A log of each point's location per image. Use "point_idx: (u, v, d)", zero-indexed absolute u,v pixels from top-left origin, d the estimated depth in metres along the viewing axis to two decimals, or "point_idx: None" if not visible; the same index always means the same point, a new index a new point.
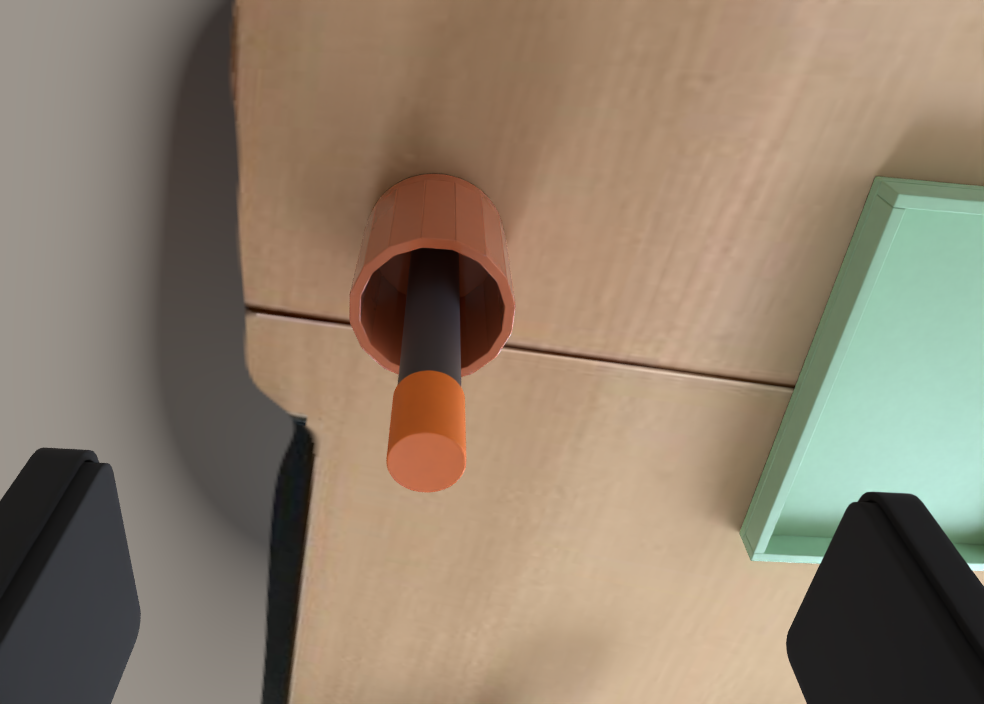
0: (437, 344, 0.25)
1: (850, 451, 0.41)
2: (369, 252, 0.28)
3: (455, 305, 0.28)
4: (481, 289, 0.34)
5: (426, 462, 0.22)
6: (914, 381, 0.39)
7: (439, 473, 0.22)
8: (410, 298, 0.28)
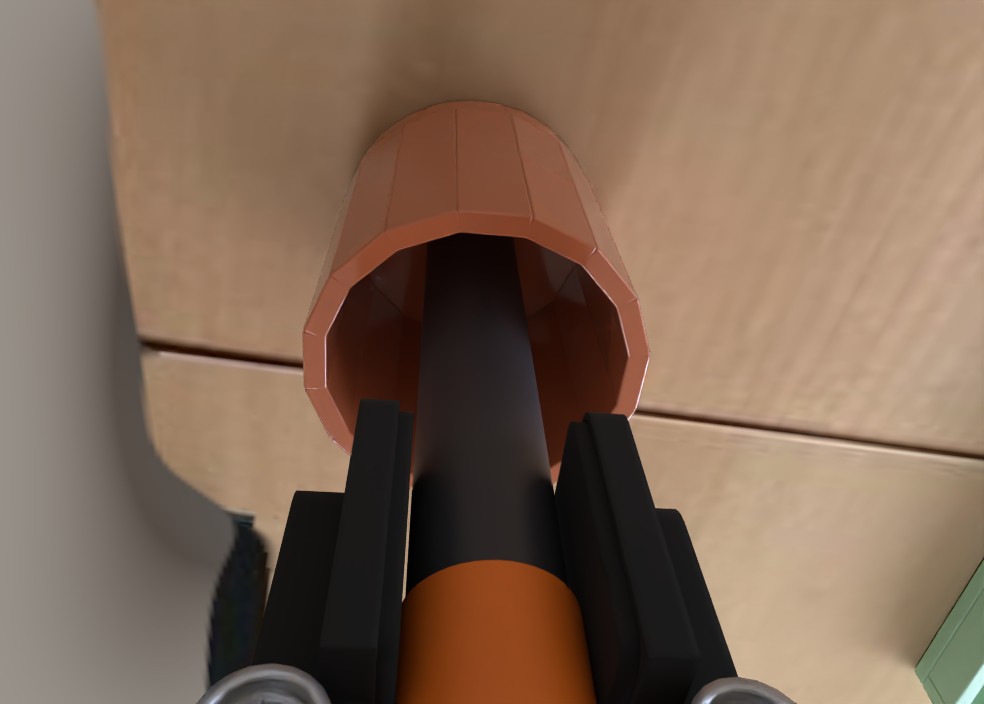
0: (504, 467, 0.10)
1: None
2: (344, 244, 0.13)
3: (527, 356, 0.13)
4: (552, 311, 0.19)
5: None
6: None
7: None
8: (431, 340, 0.13)
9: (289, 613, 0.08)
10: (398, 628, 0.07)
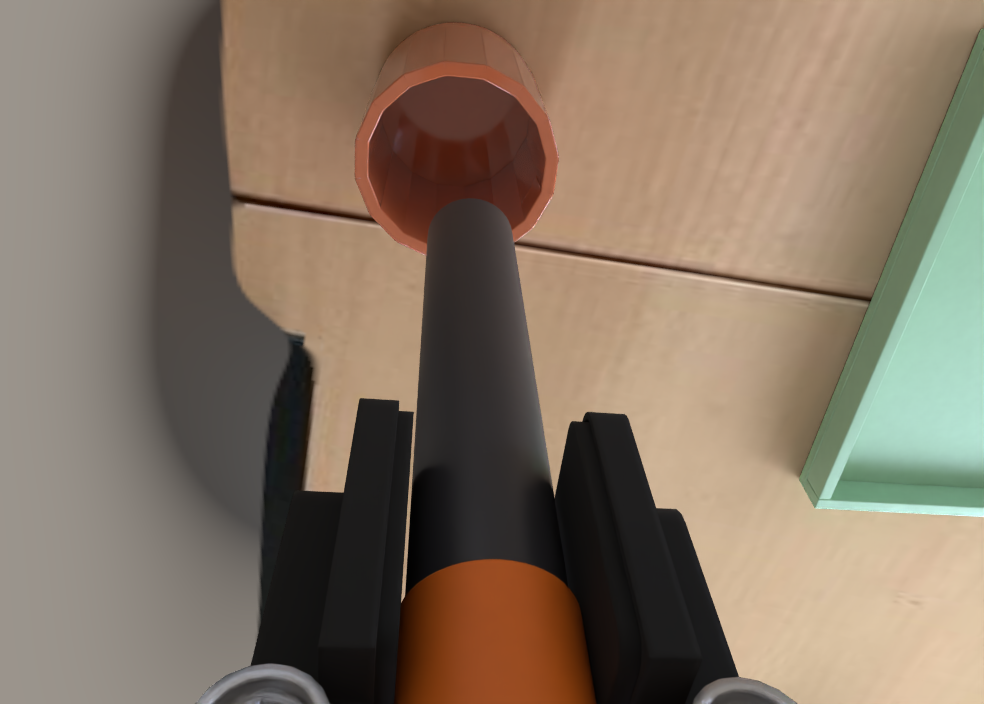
0: (504, 467, 0.10)
1: (932, 378, 0.35)
2: (379, 89, 0.23)
3: (527, 356, 0.13)
4: (511, 166, 0.29)
5: None
6: None
7: None
8: (431, 340, 0.13)
9: (288, 613, 0.08)
10: (397, 628, 0.07)
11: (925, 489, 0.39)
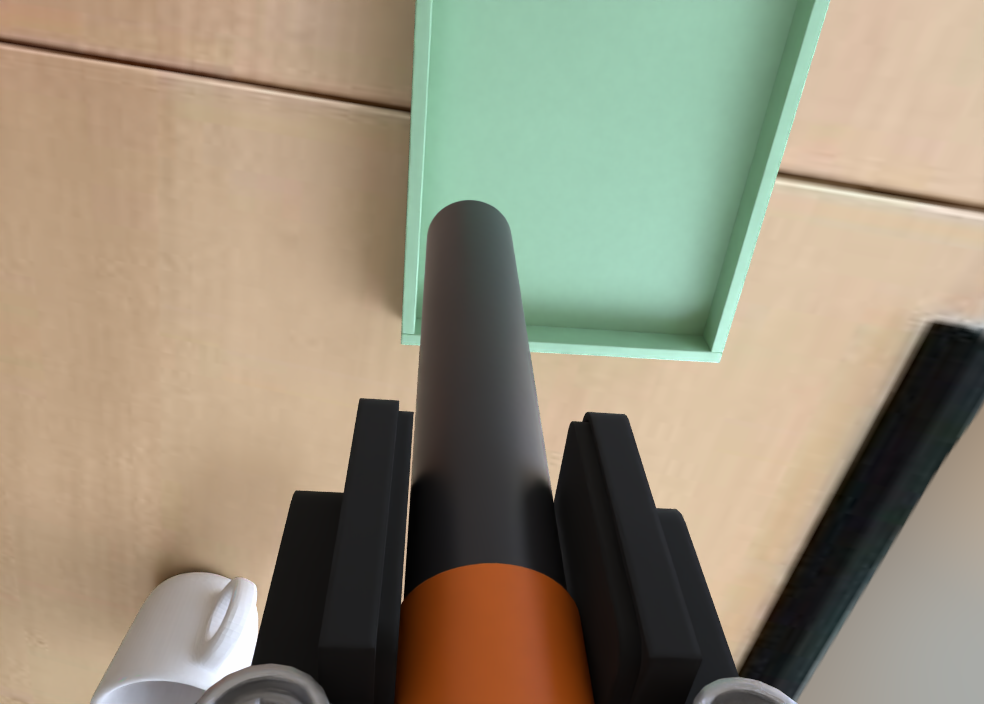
0: (502, 471, 0.10)
1: (498, 200, 0.34)
2: None
3: (526, 358, 0.13)
4: None
5: None
6: (550, 96, 0.32)
7: None
8: (430, 343, 0.13)
9: (288, 613, 0.08)
10: (397, 628, 0.07)
11: (528, 328, 0.37)
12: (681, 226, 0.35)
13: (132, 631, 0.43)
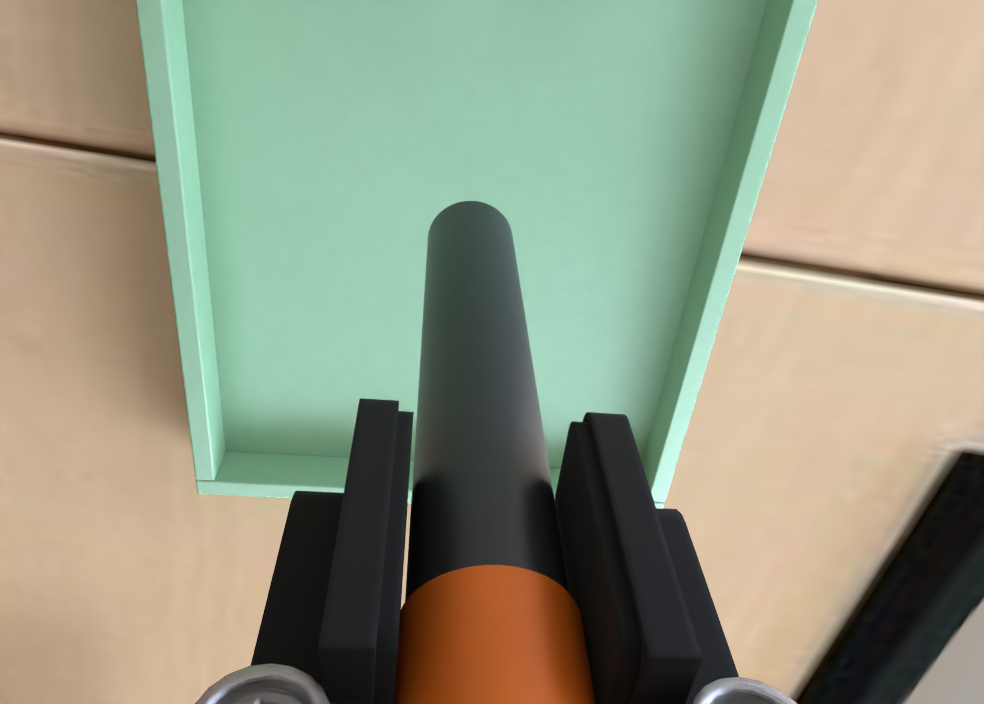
0: (504, 472, 0.10)
1: (326, 294, 0.23)
2: None
3: (527, 359, 0.13)
4: None
5: None
6: (388, 145, 0.21)
7: None
8: (431, 344, 0.13)
9: (288, 613, 0.08)
10: (397, 628, 0.07)
11: None
12: (601, 329, 0.24)
13: None
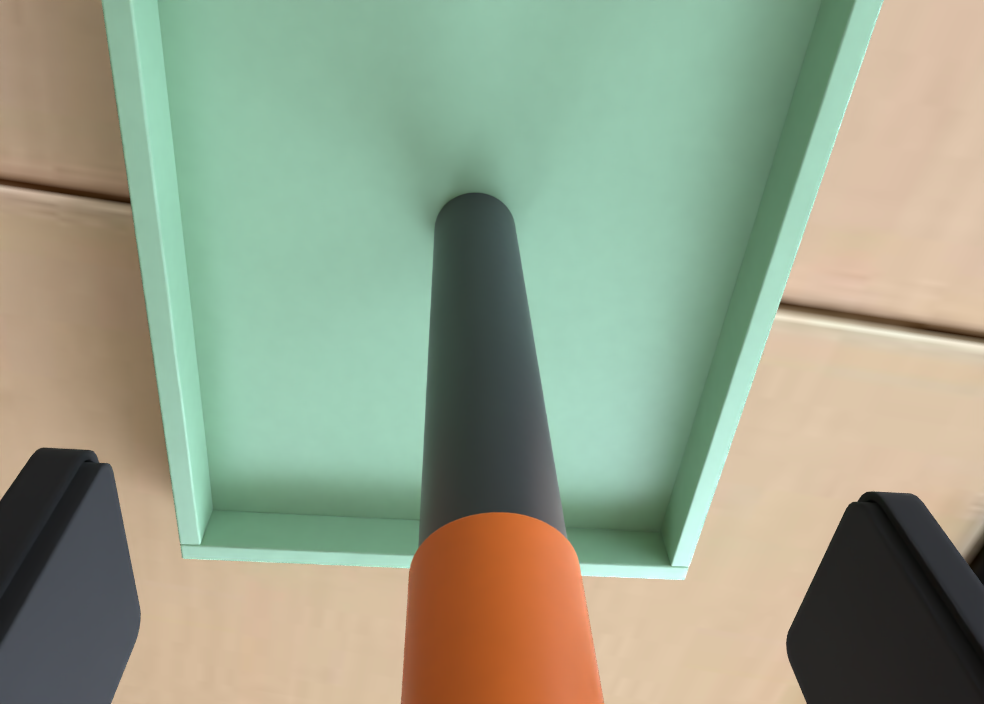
0: (508, 435, 0.11)
1: (322, 346, 0.21)
2: None
3: (529, 337, 0.14)
4: None
5: None
6: (390, 188, 0.19)
7: None
8: (439, 323, 0.14)
9: None
10: None
11: (389, 526, 0.24)
12: (622, 383, 0.22)
13: None
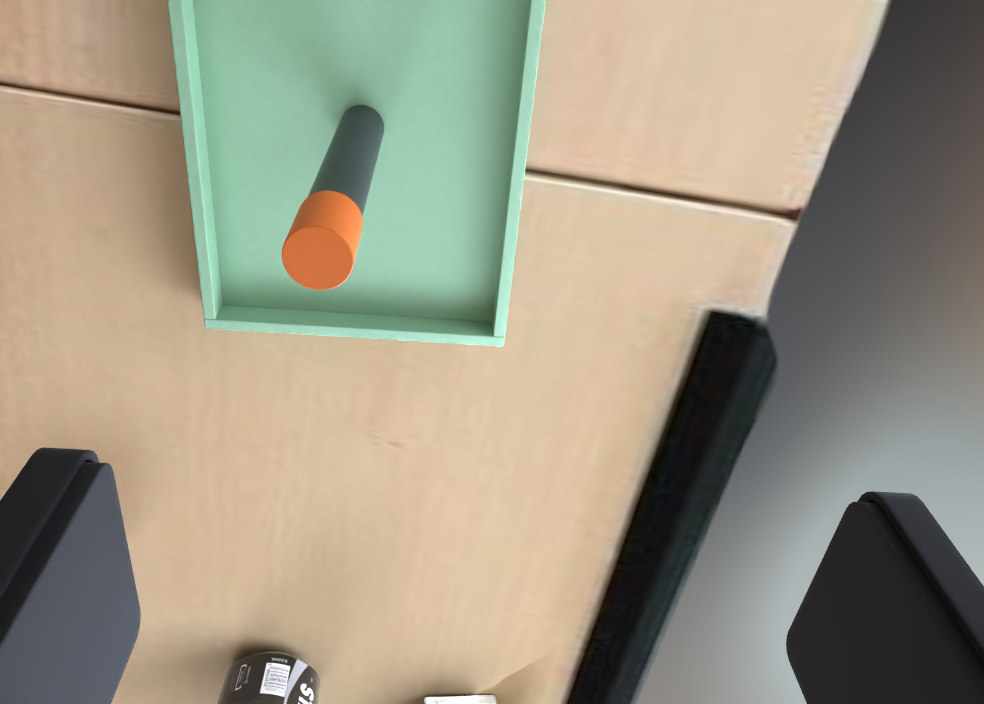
0: (341, 176, 0.28)
1: (282, 197, 0.38)
2: None
3: (367, 157, 0.31)
4: None
5: (317, 258, 0.24)
6: (315, 103, 0.35)
7: (330, 269, 0.24)
8: (327, 152, 0.31)
9: None
10: None
11: (327, 315, 0.41)
12: (455, 220, 0.39)
13: None
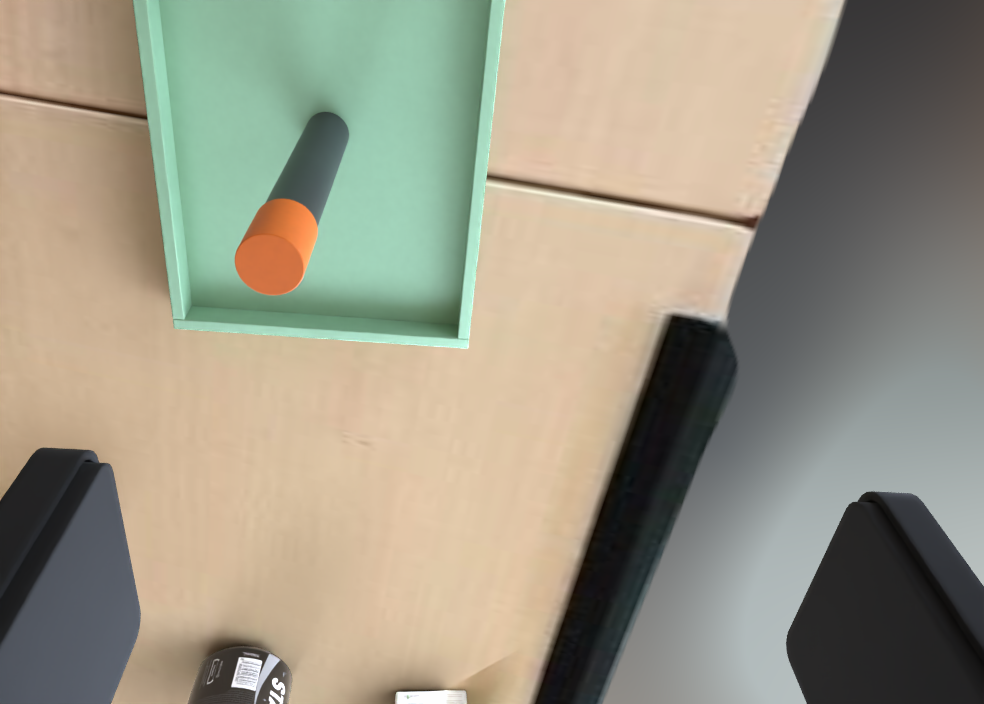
0: (298, 184, 0.28)
1: (250, 200, 0.38)
2: None
3: (327, 165, 0.32)
4: None
5: (268, 265, 0.25)
6: (281, 109, 0.36)
7: (282, 276, 0.25)
8: (288, 159, 0.32)
9: None
10: None
11: (294, 316, 0.42)
12: (420, 225, 0.40)
13: None
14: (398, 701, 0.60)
